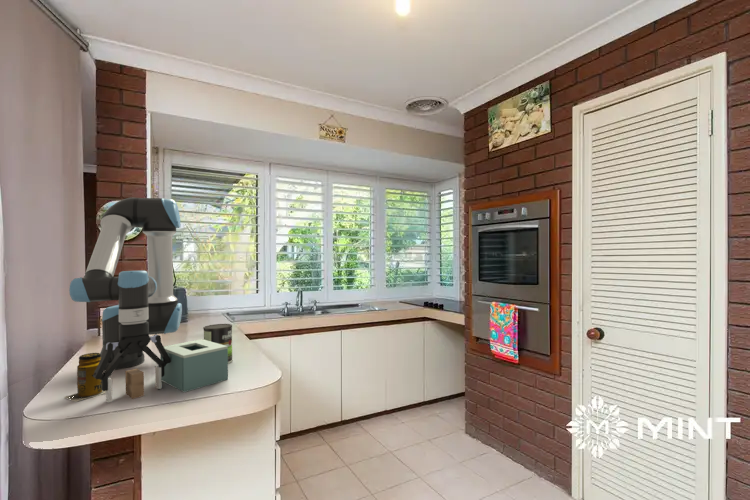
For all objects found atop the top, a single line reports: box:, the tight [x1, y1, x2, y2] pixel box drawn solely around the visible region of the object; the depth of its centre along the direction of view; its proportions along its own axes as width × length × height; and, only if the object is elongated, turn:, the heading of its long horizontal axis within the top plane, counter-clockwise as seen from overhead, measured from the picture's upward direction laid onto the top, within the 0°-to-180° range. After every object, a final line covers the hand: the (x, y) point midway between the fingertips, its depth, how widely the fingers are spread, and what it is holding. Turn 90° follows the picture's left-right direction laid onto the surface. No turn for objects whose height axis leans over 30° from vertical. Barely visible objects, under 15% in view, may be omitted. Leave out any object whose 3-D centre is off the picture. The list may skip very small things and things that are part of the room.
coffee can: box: [202, 323, 233, 365], centre depth 141 cm, size 10×10×14 cm
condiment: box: [63, 352, 106, 403], centre depth 110 cm, size 7×8×12 cm
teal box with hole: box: [159, 338, 229, 393], centre depth 121 cm, size 18×14×11 cm
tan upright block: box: [124, 368, 145, 400], centre depth 109 cm, size 6×3×7 cm, turn 50°
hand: (134, 394), depth 109 cm, fingers open, 12 cm apart
